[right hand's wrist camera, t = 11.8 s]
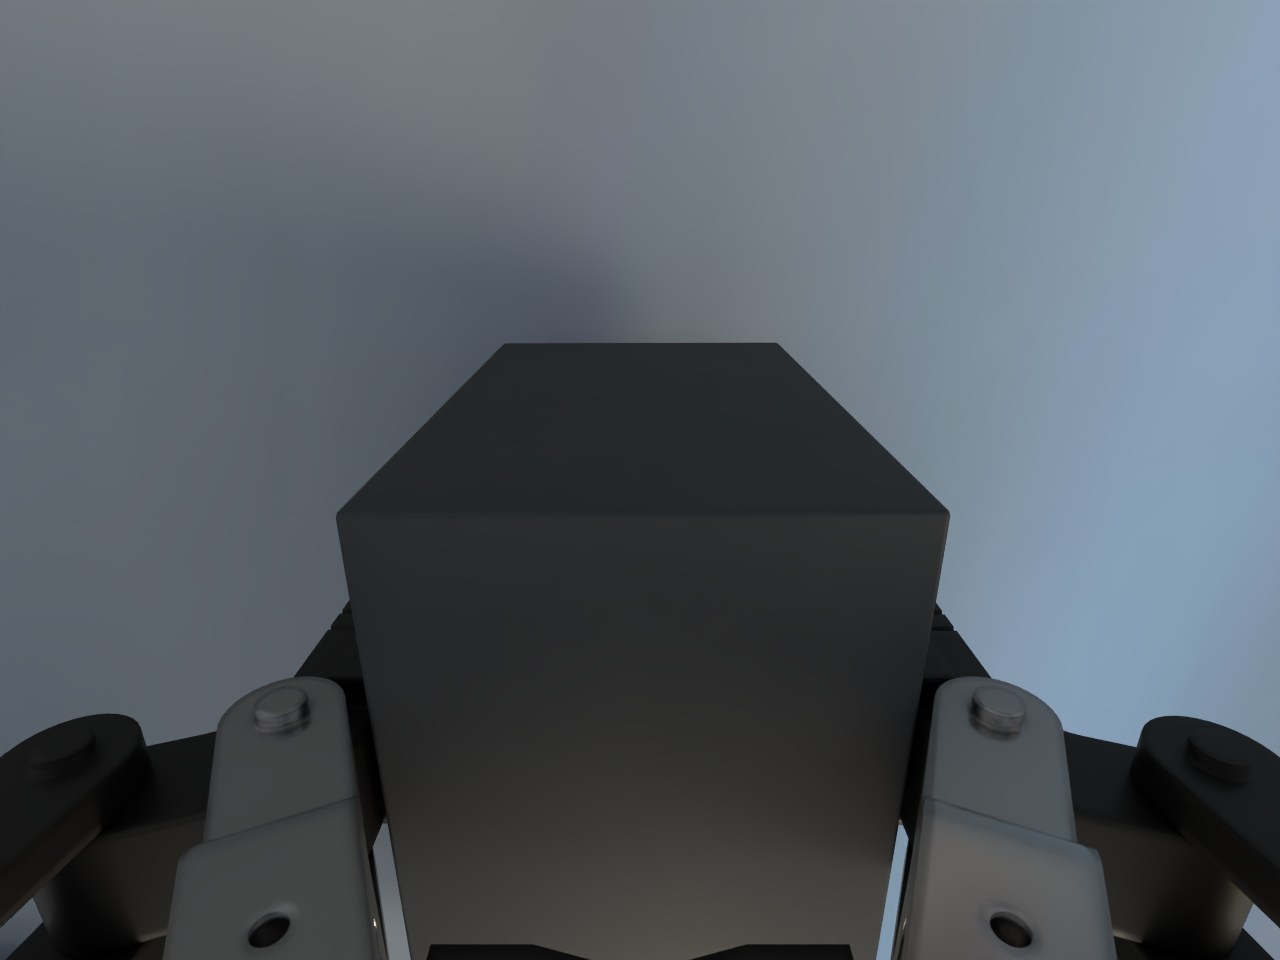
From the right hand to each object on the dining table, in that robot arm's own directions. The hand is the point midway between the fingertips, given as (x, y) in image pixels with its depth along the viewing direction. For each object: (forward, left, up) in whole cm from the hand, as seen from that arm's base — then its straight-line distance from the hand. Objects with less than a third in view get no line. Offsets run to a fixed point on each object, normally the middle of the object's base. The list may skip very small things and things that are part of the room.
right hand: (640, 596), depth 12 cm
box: (+5, -6, -5) cm, 9 cm away
